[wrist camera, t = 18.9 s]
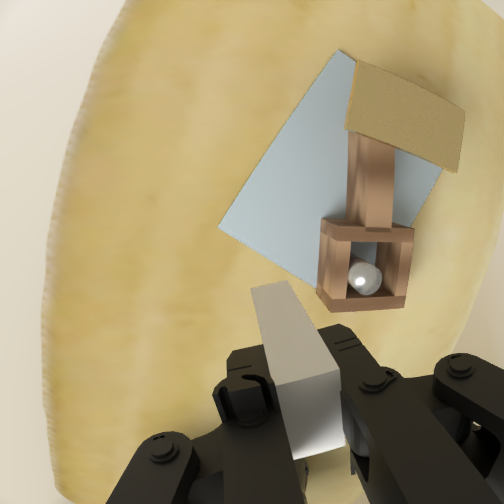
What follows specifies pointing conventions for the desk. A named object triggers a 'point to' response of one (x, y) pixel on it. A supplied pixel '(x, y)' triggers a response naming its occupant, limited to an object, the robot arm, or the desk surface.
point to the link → (365, 233)
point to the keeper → (404, 116)
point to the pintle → (363, 275)
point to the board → (315, 181)
